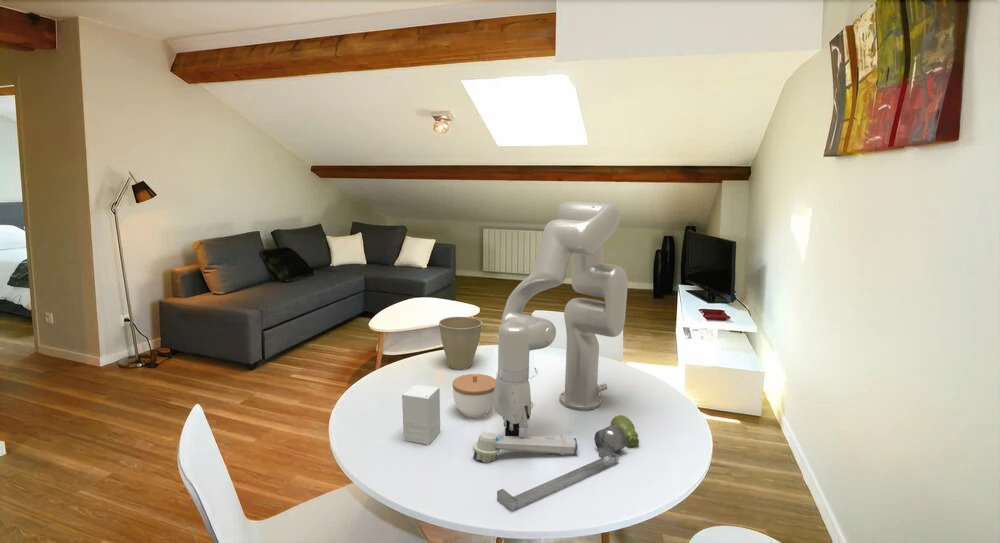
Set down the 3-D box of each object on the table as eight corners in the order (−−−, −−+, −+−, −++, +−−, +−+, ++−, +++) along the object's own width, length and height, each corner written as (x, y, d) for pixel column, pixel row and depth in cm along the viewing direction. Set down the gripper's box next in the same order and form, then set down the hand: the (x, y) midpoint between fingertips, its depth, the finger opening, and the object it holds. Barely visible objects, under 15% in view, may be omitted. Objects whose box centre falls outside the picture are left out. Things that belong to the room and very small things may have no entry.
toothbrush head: (579, 443, 129) (476, 436, 125) (574, 469, 131) (472, 462, 127) (573, 433, 134) (475, 425, 131) (569, 457, 136) (471, 450, 132)
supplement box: (441, 432, 142) (440, 387, 139) (428, 445, 135) (427, 398, 132) (416, 427, 144) (415, 383, 142) (402, 440, 137) (401, 394, 135)
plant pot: (464, 377, 179) (464, 331, 176) (430, 367, 187) (429, 323, 184) (490, 364, 191) (490, 320, 188) (456, 355, 199) (456, 314, 196)
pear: (627, 410, 143) (646, 433, 134) (624, 427, 145) (642, 451, 136) (608, 412, 142) (625, 436, 133) (605, 429, 144) (622, 453, 135)
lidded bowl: (476, 398, 162) (476, 364, 160) (506, 412, 153) (506, 376, 151) (443, 411, 154) (443, 375, 151) (472, 426, 145) (473, 388, 143)
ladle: (607, 443, 137) (608, 421, 136) (632, 456, 131) (633, 433, 130) (488, 492, 116) (489, 467, 114) (511, 511, 109) (512, 485, 108)
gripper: (483, 366, 135) (482, 434, 138) (520, 386, 123) (518, 460, 127) (507, 361, 139) (506, 426, 143) (545, 379, 127) (542, 450, 131)
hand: (512, 442), depth 135 cm, fingers closed
